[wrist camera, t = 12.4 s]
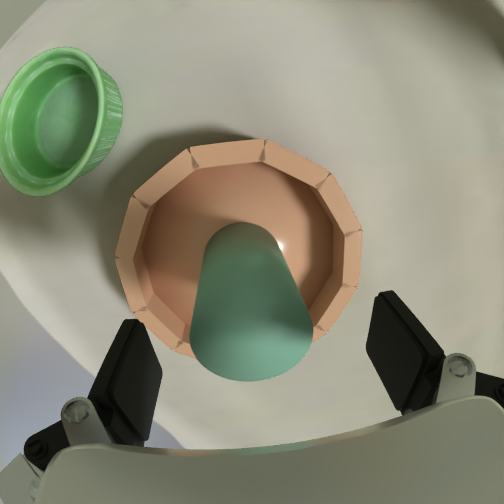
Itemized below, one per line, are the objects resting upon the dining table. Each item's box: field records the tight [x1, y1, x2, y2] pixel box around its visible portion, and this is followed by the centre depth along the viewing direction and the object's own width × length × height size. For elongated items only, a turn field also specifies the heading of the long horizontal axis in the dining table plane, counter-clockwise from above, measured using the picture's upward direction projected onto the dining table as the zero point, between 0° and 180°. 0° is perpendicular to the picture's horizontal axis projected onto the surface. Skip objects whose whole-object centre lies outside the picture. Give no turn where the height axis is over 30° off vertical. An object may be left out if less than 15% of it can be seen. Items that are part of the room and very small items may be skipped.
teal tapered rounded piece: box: [189, 222, 313, 381], centre depth 14 cm, size 5×5×8 cm
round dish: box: [115, 139, 363, 359], centre depth 18 cm, size 15×15×3 cm
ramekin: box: [0, 47, 123, 197], centre depth 12 cm, size 9×9×4 cm
